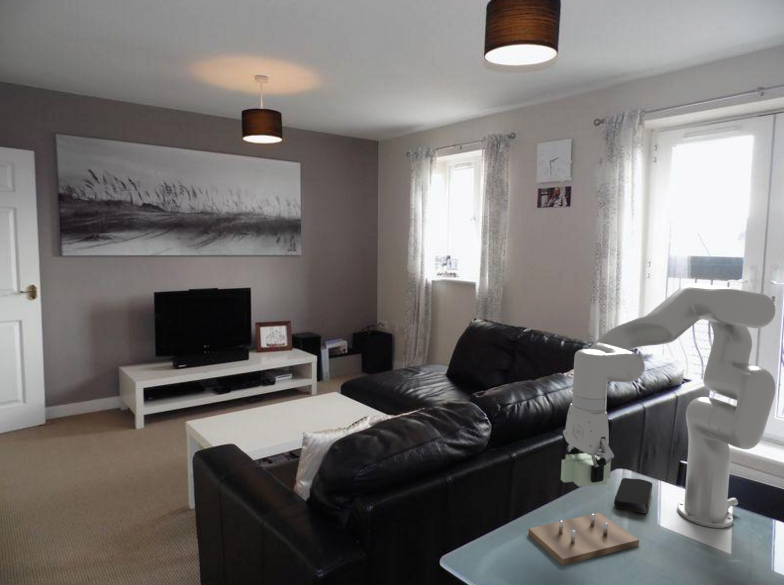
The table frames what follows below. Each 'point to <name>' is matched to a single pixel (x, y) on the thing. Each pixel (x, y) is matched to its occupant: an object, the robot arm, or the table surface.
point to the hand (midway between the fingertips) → (585, 473)
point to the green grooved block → (581, 470)
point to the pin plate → (582, 538)
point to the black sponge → (633, 495)
